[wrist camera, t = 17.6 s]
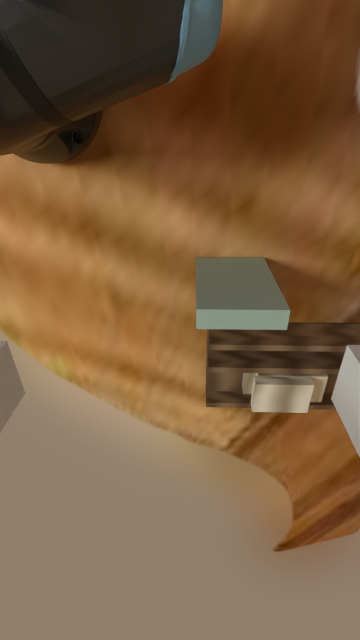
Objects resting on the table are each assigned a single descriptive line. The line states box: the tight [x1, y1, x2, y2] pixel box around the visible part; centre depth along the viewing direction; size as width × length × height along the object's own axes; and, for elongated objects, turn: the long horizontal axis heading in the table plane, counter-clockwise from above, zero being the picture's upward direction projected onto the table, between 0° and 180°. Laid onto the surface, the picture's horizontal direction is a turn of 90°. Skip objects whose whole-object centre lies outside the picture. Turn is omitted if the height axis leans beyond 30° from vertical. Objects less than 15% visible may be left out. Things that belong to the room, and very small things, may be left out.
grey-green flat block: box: [196, 258, 290, 330], centre depth 43 cm, size 10×2×16 cm, turn 91°
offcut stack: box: [242, 373, 328, 413], centre depth 55 cm, size 13×6×6 cm, turn 91°
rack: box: [206, 323, 360, 410], centre depth 55 cm, size 26×15×6 cm, turn 91°
